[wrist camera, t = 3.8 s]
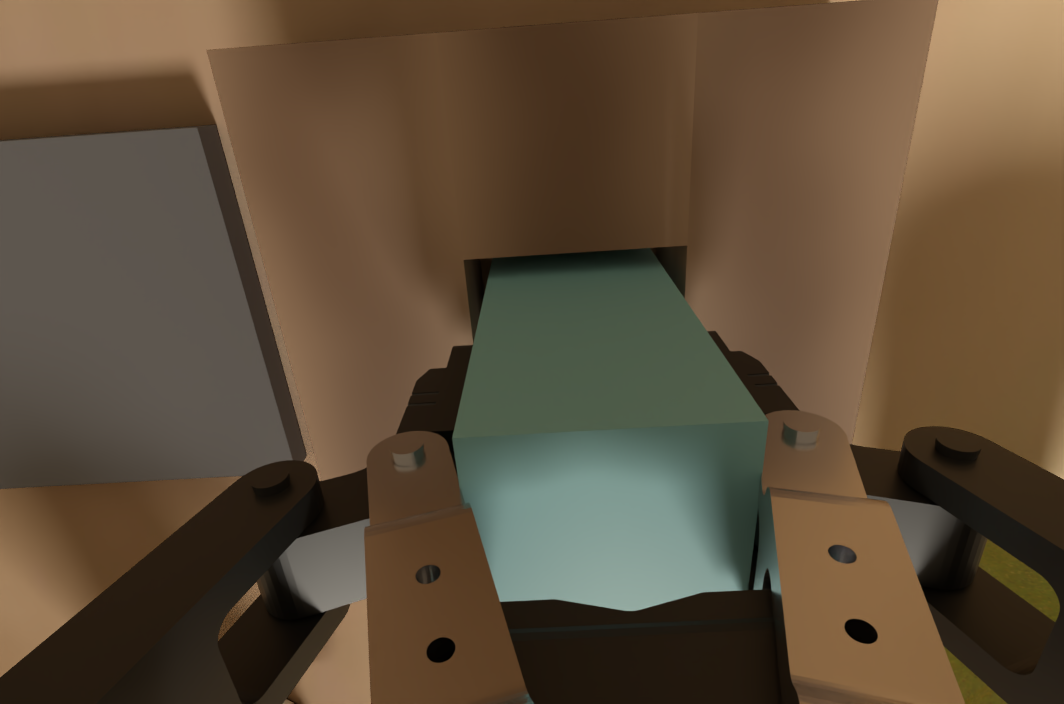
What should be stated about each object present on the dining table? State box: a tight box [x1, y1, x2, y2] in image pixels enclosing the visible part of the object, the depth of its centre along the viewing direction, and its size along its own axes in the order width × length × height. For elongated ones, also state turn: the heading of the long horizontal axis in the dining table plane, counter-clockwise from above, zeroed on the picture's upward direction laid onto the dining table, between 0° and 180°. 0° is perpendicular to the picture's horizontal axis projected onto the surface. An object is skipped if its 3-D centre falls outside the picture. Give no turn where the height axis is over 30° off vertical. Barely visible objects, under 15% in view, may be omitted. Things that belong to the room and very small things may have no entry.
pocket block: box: [207, 0, 938, 481], centre depth 16 cm, size 14×14×4 cm
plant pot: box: [944, 539, 1060, 704], centre depth 19 cm, size 9×9×9 cm
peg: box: [452, 248, 769, 611], centre depth 13 cm, size 4×4×10 cm
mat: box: [0, 125, 307, 489], centre depth 18 cm, size 11×11×1 cm
